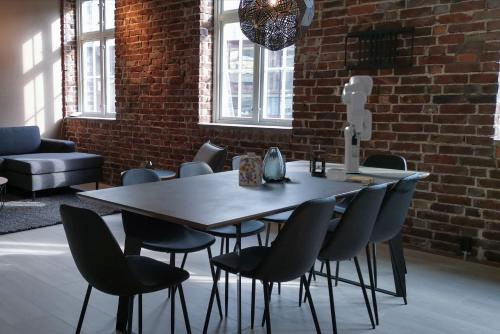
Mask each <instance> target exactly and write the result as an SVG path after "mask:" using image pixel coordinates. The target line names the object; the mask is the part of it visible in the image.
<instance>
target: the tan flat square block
mask: <svg viewBox="0 0 500 334" xmlns="http://www.w3.org/2000/svg"><path fill="white" fill-rule="evenodd" d="M346 179H347V180H346V181H347V183H355V184H362V185H364V184H369V183H372V182H374V183H375V177H368V176H358V175H356V176H355V175H354V176H352V177H348V178H347V177H346Z"/></svg>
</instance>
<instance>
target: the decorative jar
mask: <svg viewBox="0 0 500 334" xmlns="http://www.w3.org/2000/svg"><path fill="white" fill-rule="evenodd" d="M263 161H264V160H263V158H262V156H260V155H256V152H246V155H241V156H240V157H239V161H238V186H244V187H245V186H246V187H260V186H261V185H262V184H263V170H264V169H263Z"/></svg>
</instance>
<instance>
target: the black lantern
mask: <svg viewBox="0 0 500 334" xmlns="http://www.w3.org/2000/svg"><path fill="white" fill-rule="evenodd" d="M316 143H318V149H314V150H312V155H316V156H320V155H326V153H327V150H323V149H321V147H320V145H321V143H323V140H316ZM317 162H318V164H317ZM320 162H321V166H320ZM326 162H327V158H323V157H310V158H309V173H310V175H311V177H313V178H327V172H326ZM317 170H320V171H317Z"/></svg>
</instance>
